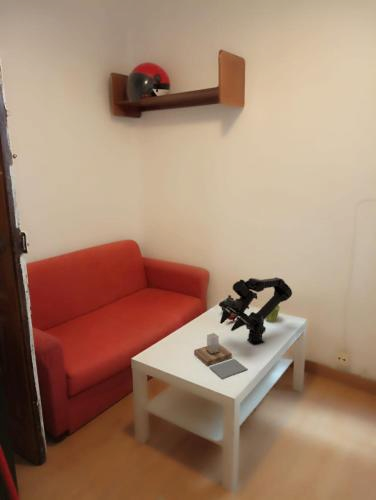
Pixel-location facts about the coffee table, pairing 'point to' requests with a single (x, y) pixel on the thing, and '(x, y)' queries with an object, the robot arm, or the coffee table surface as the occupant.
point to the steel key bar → (212, 344)
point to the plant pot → (273, 315)
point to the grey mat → (228, 368)
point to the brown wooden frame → (212, 359)
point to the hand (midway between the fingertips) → (225, 326)
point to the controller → (225, 301)
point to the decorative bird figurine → (232, 317)
